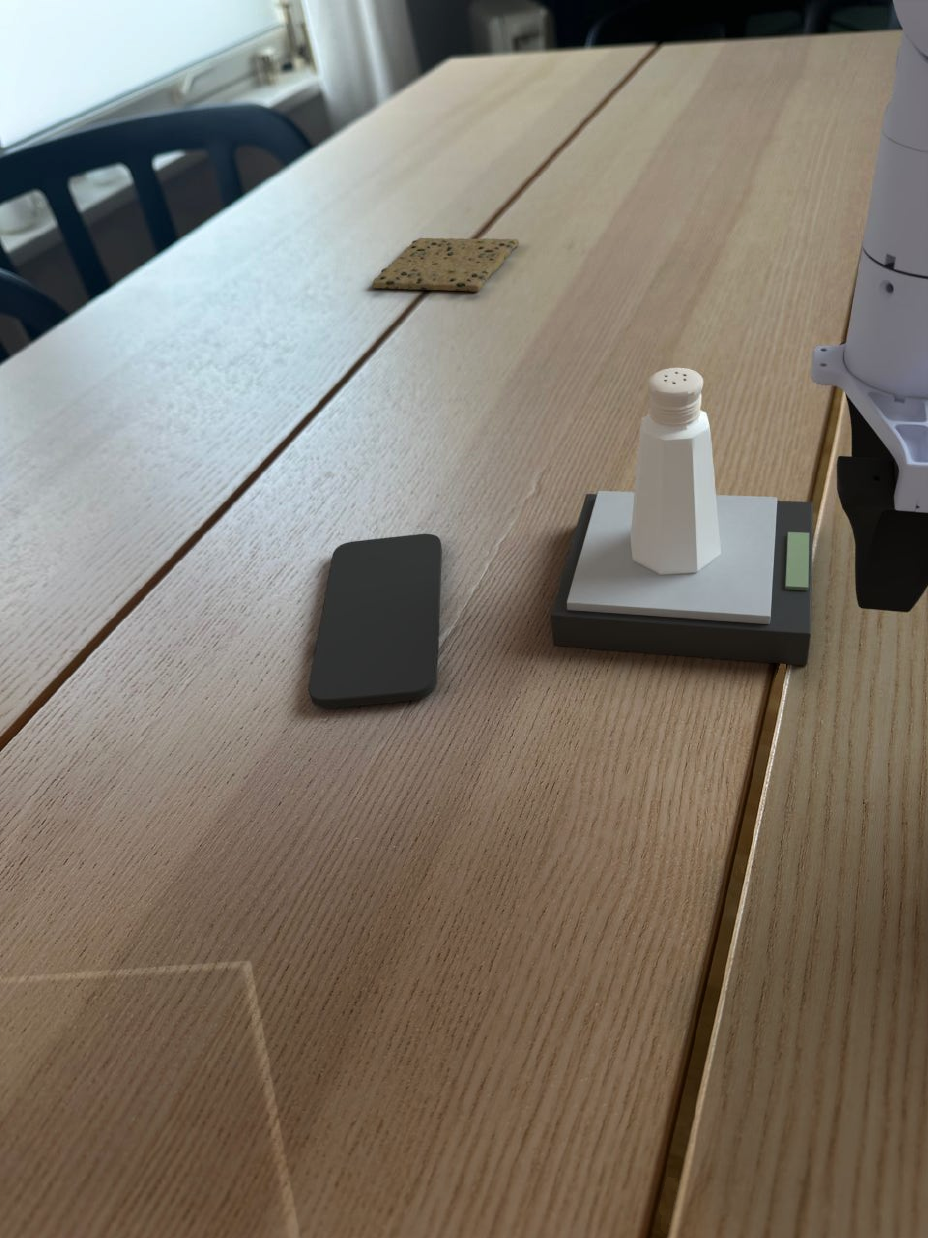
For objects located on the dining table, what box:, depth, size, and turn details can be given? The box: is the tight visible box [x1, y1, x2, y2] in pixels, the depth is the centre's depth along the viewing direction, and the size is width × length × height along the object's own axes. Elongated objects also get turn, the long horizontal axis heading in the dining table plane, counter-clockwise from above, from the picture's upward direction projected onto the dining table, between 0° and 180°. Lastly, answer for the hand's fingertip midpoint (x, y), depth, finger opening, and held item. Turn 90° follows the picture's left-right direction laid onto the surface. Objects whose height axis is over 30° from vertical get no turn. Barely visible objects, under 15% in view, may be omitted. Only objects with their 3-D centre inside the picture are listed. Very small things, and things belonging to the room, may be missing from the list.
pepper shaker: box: [631, 367, 721, 575], centre depth 54 cm, size 5×5×11 cm
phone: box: [308, 533, 443, 709], centre depth 61 cm, size 7×1×15 cm
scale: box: [549, 490, 814, 667], centre depth 58 cm, size 14×12×3 cm
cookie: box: [372, 237, 520, 292], centre depth 101 cm, size 12×12×1 cm
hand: (880, 548), depth 44 cm, fingers open, 7 cm apart
